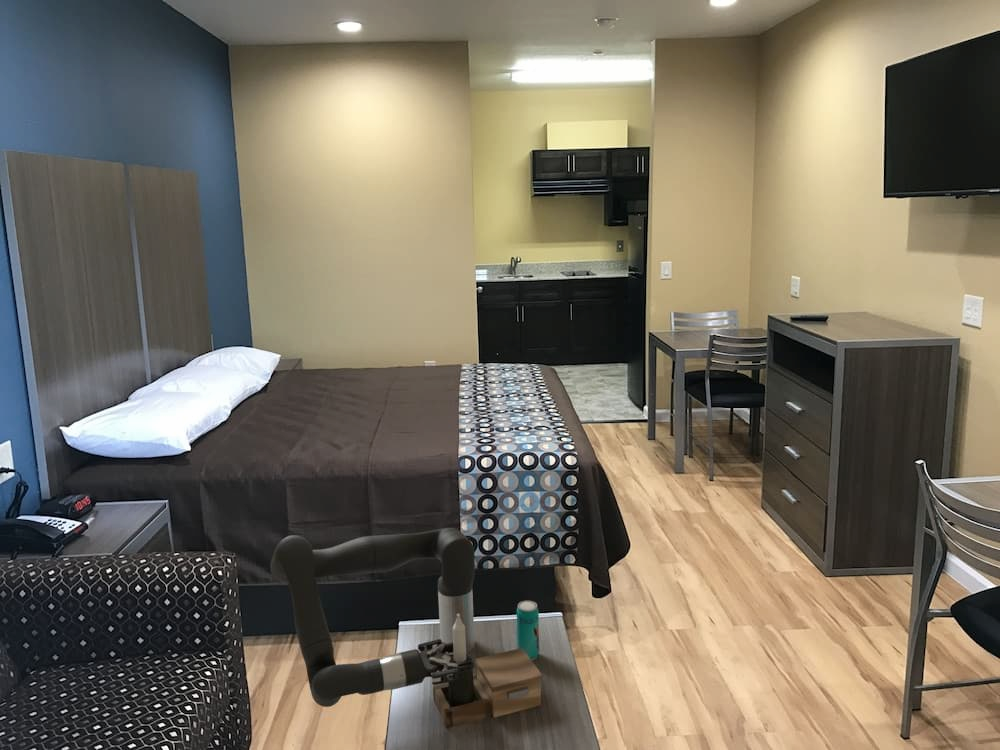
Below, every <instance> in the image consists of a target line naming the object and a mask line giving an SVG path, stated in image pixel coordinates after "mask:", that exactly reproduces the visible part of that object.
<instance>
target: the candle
mask: <svg viewBox="0 0 1000 750" xmlns="http://www.w3.org/2000/svg"><path fill="white" fill-rule="evenodd" d="M453 649H454V655H452V656H450V659H449V660H448V661H449V662H450V663H456V664H457V663H459V662H463V661H468V660H472V661H473V662H474V660H473V657H472V656H469V654H468V653H466V639H465V626H464V624H463V623H462V621H461V619H460V614H457V619H456V623H455V624H454V626H453ZM449 669H453V668H450V667H449ZM447 677H453V676H452V675H448V676H447ZM473 677H474V669H473V670H470V671H466V672H462V673H459V674H458V680H457V681H453V682H448V684H449V701H448V704H449V706H450V708H452V707H456V706H460V705H464V704H468V703H471V702H475V699H474V684H473Z"/></svg>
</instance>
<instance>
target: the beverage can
mask: <svg viewBox="0 0 1000 750" xmlns="http://www.w3.org/2000/svg"><path fill="white" fill-rule="evenodd" d="M539 612H540V611H539V608H538V604H537V602H535V601H532V600H523V601H520V602H519V603H518V604H517V608H516V639H517V641H516V642H517V643H516V644H517V647H516V649H519V648H523V649H524V651H525V652H526V654H527V655H528V656H529V658H530V659H531V660H532V662H534V661H536V659H537V658H538V655H539V653H540V628H539V627H540V625H539V623H540V622H539V621H540V620H539V617H540V614H539Z"/></svg>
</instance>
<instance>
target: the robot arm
mask: <svg viewBox="0 0 1000 750" xmlns="http://www.w3.org/2000/svg"><path fill="white" fill-rule="evenodd" d="M475 554H476V553H475V548H474V545H473V542H472V541H471V540H470V539H469V538H468V537H467V536H466V535H465V534H464V533H463V532H462V531H460V530H459V529H457V528H454V527H443V528H439V529H433V530H427V531H423V532H417V533H397V534H381V535H380V534H379V535H366V536H361V537H357V538H355V539H352V540H351V539H350V540H348V541H345V542H343V543H340V544H338V545H335V546H332V547H328V548H322V549H313V546H312V545H311V543H310V542H309V541H308V540H307V539H306V538H304V537H303V536H302V535H301V536H300V535H288V536H286V537H284V538H283V539H281V540H280V542H279V543H278V544H277V545H276V547H275V548H274V552H273V555H272V558H271V561H270V567H269V569H270V573H271V575H272V576H273V578H274V579H276V580H277V581H278V582H281V583H283V584H288V586H289V590H290V593H291V594H290V595H291V599H292V600H291V601H292V606H293V616H294V617H293V618H294V625H295V632H296V637H297V640H298V643H299V647H300V651H301V655H302V658H303V661H304V663H305V669H306V675H307V679H308V685H309V689H310V693H311V697H312V699H313V700H314V702H315V703H316V704H317V705H318V706H320V707H324V708H328V707H332V706H334V705H336V704H337V703H338V702H339V701H340V700H341V698H342V697H345V696H348V695H349V696H350V695H354V694H359V695H361V696H366V695H371V694H376V693H380V692H383V691H391V690H392V691H393V690H397V689H398V690H399V689H402V688H407V687H410V686H414V685H418V684H422V683H423V681H424V679H425V678H431V684H432V686H436V685H440V684H445V683H448V682H453V681H457V680H458V674H459V673H462V672H466V671H470V670H473V671H474V667H475V666H474V660H473V661H472V660H468V661H463V662H459V663H457V664H456V663H450V662H449V661H450V660H449V659H444V656H445V655H452V656H453V655H454V649H453V626H454V624H455V623H456V619H457V614H460V619H461V621H462V623H463V624H464V626H465V639H466V654H468V653H470V652H472V651H473V649H474V648H475V632H474V631H475V626H474V621H475V619H474V599H473V596H474V595H473V583H474V580H475V573H476V572H475V571H476V569H475V567H476V566H475V564H476V563H475V561H476V557H475ZM425 559H426V560H427V559H430V560H431V559H434V560H436V559H437V560H439V561H440V562H441V576H439V577H438V580H437V596H438V598H437V599H438V617H439V636H440V638H438V639H435V640H429V641H426V642H423V643H419V644H417V649H416V648H414V649H411V650H410V649H409V650H405V651H401V652H397V653H396V652H395V653H391V654H387V655H385V656H382V657H380V658H375V659H370V660H367V661H363V662H360V663H359V662H358V663H343V664H342V663H341V664H336V661H335V660H336V659H335V651H334V643H333V640H332V637H331V633H330V630H329V627H328V623H327V620H326V617H325V612H324V609H323V605H322V601H321V597H320V592H319V588H318V582H317V580H318V579H321V578H329V577H337V576H351V575H352V576H353V575H361V574H363V575H364V574H376V573H384V572H385V573H386V572H391V571H393V570H396V569H398V568H400V567H403V566H404V565H406V564H408V563H411V562H412V561H416V560H425ZM433 646H434V647H433ZM449 667H450V668H453V669H449ZM448 675H452V676H453V677H448Z"/></svg>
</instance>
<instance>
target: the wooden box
mask: <svg viewBox="0 0 1000 750" xmlns="http://www.w3.org/2000/svg"><path fill="white" fill-rule="evenodd" d="M474 662H475V666H476V672H477V673H476V675H473V684H474V702H471V703H468V704H464V705H460V706H456V707H452V708H450V706H449V684H448V683H443V684H438V685H432V692H433V702H434V705H435V707H436V708H437V710H438V713H439V715H440V717H441V720H442V722H443V724H444V726H445V728H446V729H450V728H454V727H458V726H462V725H466V724H468V723H473V722H477V721H481V720H484V719H488V718H491V717H492V716H493V718H498V717H502V716H506V715H508V714H509V715H510V714H513V713H517V712H520V711H525V710H528V709H531V708H536V707H541V705H542V696H541V695H542V692H541V691H542V687H541V686H542V683H541V682H542V681H543V675H542V673H541V671H540V670H539V669H538V668H537V666H536V664H535V663H534V661H532V660H531V659H530V658H529V656H528V655H527V654H526V652H525V651H524V649H523V648H519V649H517V648H515V649H512V650H511V649H510V650H508V651H503V652H498V653H495V654H490V655H486V656H481V657H477V658H475V659H474Z"/></svg>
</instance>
